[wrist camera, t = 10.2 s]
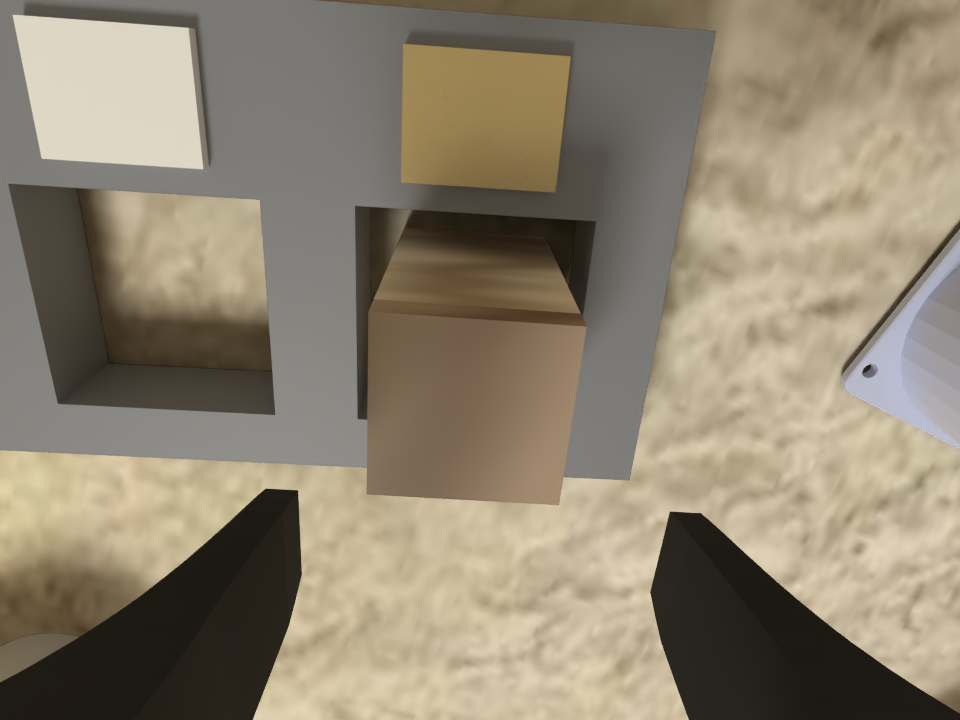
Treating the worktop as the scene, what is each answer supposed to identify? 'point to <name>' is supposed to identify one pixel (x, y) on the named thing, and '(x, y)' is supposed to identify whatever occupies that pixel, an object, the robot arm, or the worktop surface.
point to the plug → (471, 369)
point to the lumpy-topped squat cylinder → (29, 651)
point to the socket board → (326, 199)
